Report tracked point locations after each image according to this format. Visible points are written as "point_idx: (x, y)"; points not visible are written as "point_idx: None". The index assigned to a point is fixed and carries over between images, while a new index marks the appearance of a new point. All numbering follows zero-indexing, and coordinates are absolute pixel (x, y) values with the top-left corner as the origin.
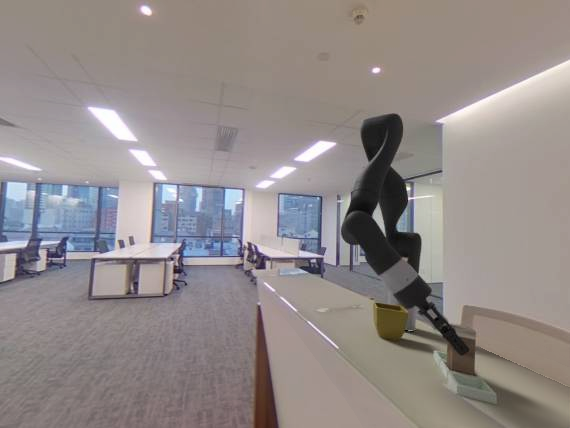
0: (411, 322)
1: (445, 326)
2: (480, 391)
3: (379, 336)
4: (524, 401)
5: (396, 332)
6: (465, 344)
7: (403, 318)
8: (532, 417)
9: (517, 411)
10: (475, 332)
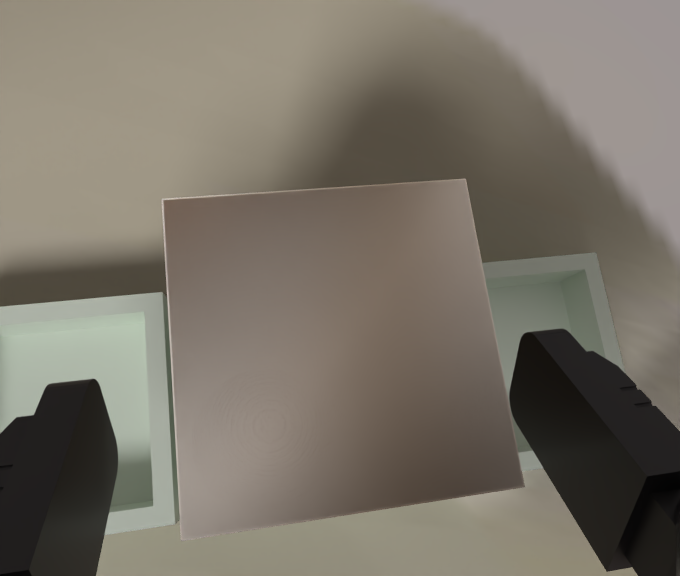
0: None
1: (45, 548)
2: (612, 329)
3: None
4: (371, 109)
5: None
6: (593, 360)
7: None
8: (541, 141)
9: (528, 185)
10: (461, 190)
